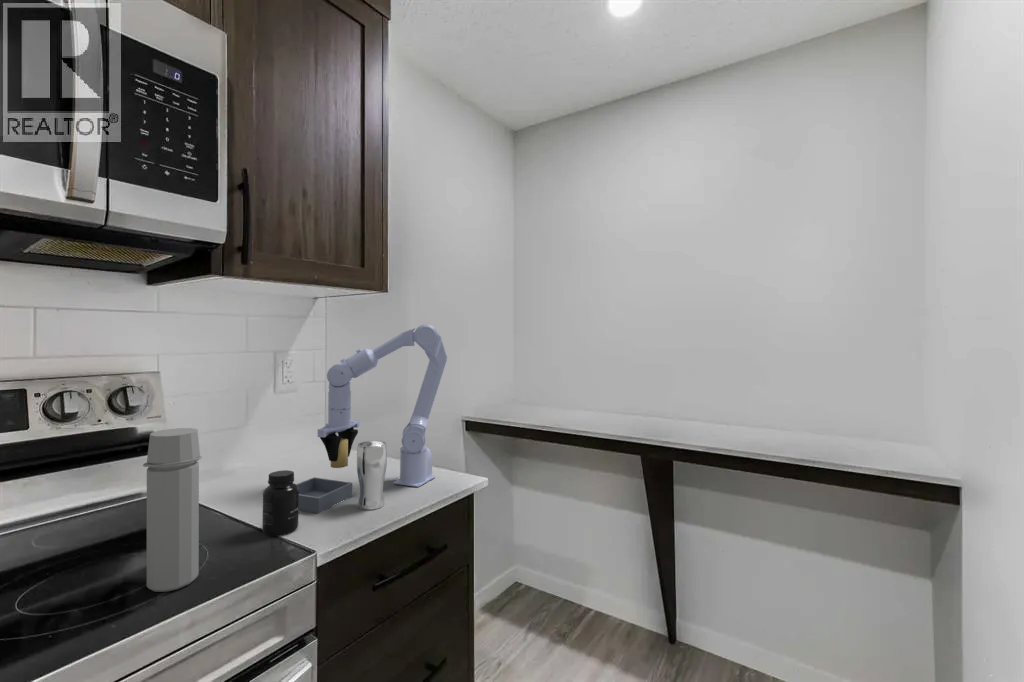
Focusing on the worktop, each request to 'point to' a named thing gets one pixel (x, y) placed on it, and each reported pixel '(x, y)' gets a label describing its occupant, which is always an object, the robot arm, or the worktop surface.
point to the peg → (341, 455)
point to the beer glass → (371, 473)
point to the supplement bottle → (280, 504)
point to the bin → (322, 494)
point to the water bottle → (172, 509)
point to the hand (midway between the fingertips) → (339, 458)
